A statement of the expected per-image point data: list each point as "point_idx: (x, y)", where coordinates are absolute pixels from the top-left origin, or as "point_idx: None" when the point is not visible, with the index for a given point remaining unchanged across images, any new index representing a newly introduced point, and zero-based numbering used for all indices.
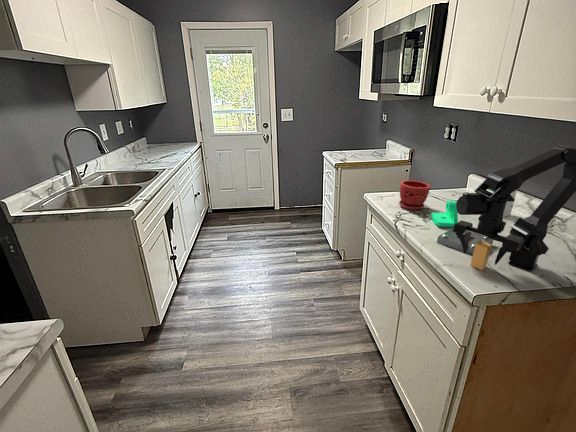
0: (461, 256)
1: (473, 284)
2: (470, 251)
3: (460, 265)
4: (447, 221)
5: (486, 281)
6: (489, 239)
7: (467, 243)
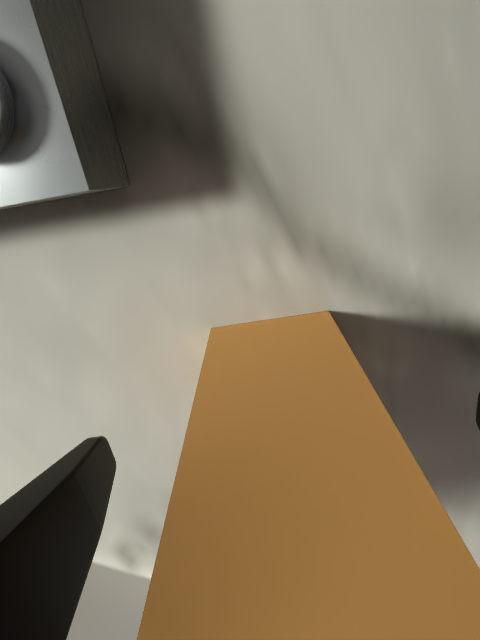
0: (64, 336)
1: None
2: (28, 203)
3: None
4: None
5: None
6: None
7: (12, 621)
